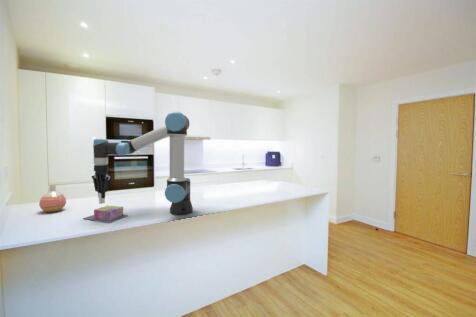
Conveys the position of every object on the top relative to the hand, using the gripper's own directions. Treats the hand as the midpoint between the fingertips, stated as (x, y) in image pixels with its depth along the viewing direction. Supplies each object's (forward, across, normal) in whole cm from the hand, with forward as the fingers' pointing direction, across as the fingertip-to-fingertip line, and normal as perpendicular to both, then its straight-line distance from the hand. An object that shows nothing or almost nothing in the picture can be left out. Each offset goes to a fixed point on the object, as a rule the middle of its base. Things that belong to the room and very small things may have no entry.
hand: (101, 203), depth 138 cm
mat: (+9, -2, -1) cm, 9 cm away
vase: (+9, +41, +1) cm, 42 cm away
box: (+6, +1, 0) cm, 6 cm away
